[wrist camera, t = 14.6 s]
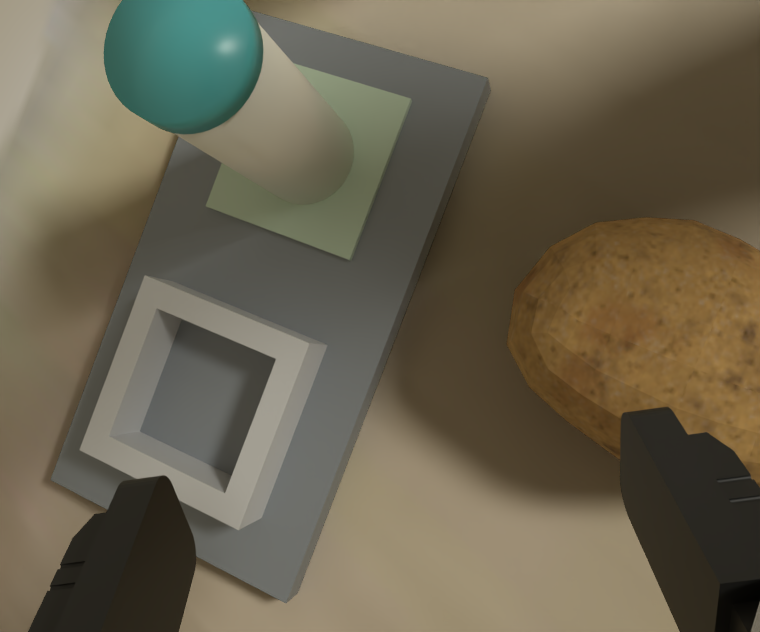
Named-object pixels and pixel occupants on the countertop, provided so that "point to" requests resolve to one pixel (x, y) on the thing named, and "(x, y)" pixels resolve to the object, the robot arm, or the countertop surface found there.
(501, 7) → the countertop surface
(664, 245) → the potato
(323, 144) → the ball
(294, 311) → the board
